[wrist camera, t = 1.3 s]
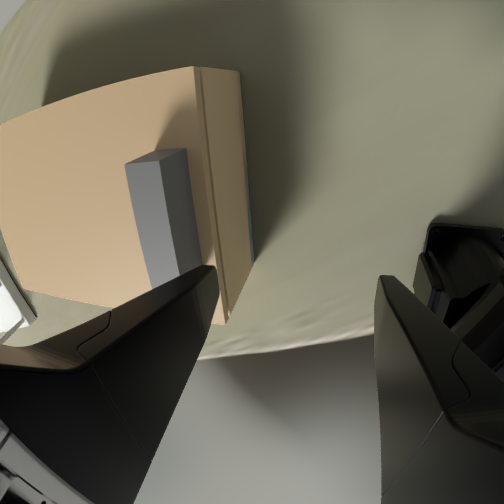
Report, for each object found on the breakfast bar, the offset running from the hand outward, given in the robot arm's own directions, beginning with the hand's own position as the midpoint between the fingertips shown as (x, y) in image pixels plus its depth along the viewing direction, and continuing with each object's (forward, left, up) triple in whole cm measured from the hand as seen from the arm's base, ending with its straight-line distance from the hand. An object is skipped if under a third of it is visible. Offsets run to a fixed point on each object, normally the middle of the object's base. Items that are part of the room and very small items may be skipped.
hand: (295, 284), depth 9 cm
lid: (+14, 0, -6) cm, 15 cm away
